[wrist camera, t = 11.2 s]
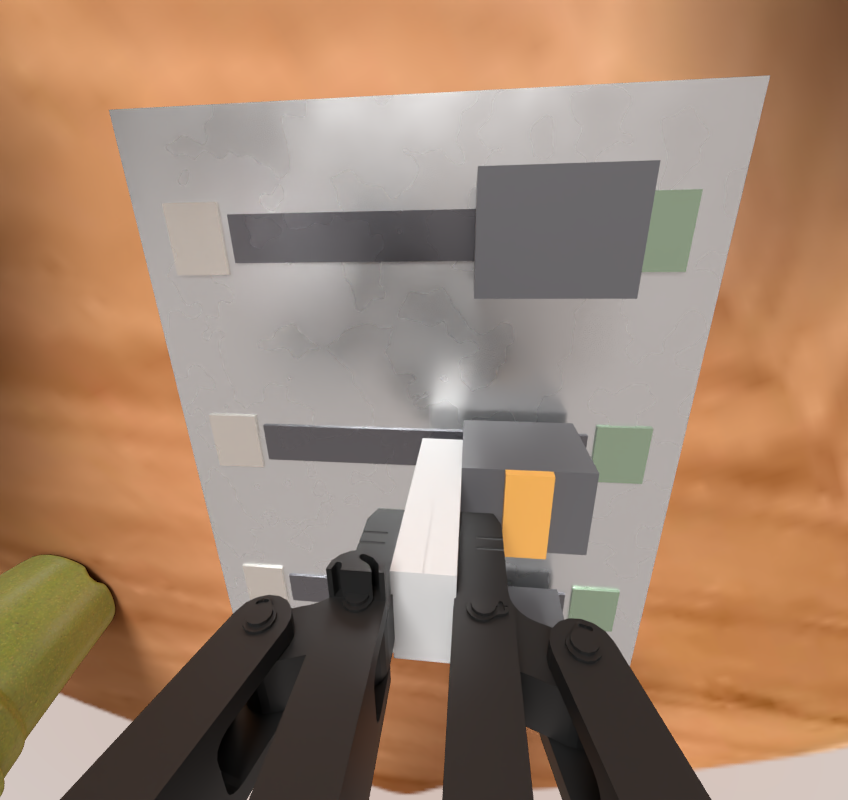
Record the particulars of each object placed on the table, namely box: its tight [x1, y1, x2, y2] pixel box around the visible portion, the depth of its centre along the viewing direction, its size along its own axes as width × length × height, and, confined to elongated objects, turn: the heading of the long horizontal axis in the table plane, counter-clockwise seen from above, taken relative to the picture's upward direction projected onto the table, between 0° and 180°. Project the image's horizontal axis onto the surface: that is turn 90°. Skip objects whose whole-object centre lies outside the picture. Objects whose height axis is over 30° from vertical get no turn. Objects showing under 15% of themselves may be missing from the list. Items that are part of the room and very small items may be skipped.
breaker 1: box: [461, 420, 599, 559], centre depth 14 cm, size 4×3×4 cm
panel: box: [109, 76, 770, 666], centre depth 18 cm, size 20×24×2 cm
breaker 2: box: [508, 586, 564, 628], centre depth 17 cm, size 4×3×4 cm
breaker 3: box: [474, 160, 661, 299], centre depth 12 cm, size 4×3×4 cm
